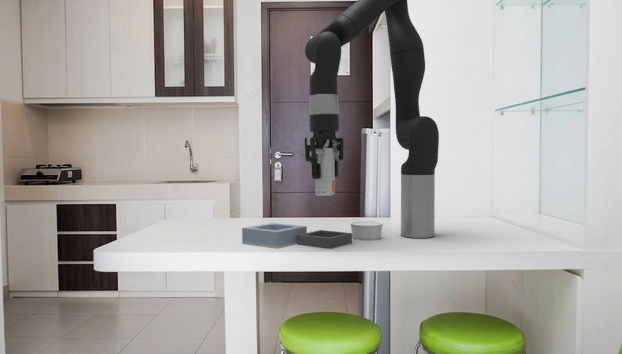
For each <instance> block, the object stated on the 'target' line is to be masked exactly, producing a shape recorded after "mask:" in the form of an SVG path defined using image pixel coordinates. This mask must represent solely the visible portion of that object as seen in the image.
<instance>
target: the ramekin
mask: <svg viewBox="0 0 622 354" xmlns="http://www.w3.org/2000/svg"><path fill="white" fill-rule="evenodd" d="M383 224H384V223H383V222H382V221H378V220H356V221H355V220H353V221H351V222H350V229H351V233H352V239H354V240H357V239H358V241H378V240H379V239H381V238H382V232H383V231H382V230H383Z"/></svg>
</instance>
